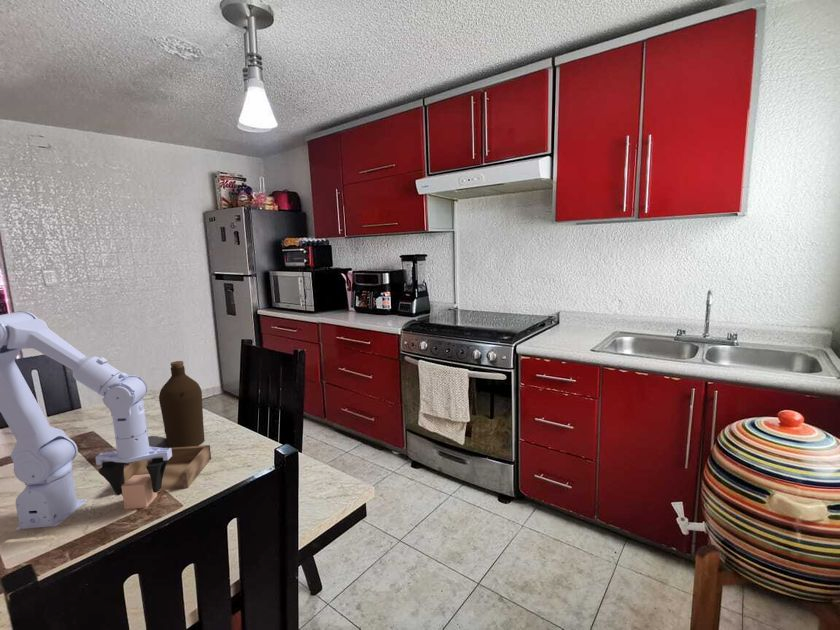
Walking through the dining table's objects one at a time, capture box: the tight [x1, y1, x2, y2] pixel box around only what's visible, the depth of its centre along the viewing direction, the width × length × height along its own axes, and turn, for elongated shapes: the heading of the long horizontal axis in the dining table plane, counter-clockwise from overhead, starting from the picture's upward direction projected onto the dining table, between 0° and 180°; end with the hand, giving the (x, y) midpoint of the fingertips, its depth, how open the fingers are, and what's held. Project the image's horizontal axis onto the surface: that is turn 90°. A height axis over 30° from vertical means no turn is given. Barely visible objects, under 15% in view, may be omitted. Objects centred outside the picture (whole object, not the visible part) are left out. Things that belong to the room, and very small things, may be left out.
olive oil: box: [158, 360, 205, 448], centre depth 118 cm, size 11×11×25 cm
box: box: [114, 444, 212, 495], centre depth 102 cm, size 14×16×4 cm
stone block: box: [127, 435, 168, 465], centre depth 115 cm, size 12×5×10 cm
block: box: [121, 474, 158, 510], centre depth 91 cm, size 4×4×6 cm
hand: (139, 491), depth 91 cm, fingers open, 7 cm apart
